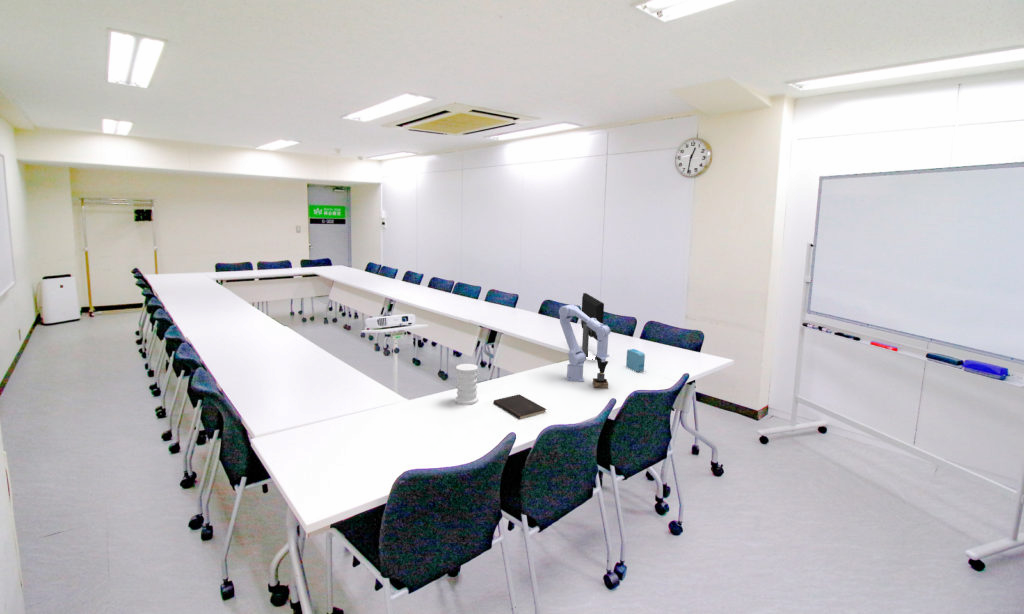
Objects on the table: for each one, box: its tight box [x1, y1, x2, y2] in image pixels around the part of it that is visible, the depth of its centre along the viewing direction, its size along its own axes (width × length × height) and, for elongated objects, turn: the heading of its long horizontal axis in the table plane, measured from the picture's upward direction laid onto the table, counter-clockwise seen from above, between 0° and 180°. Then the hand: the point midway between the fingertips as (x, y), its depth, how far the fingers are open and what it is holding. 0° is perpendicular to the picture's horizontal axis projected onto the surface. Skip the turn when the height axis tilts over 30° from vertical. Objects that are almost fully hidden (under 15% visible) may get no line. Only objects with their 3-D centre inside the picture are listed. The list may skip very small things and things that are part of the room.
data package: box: [625, 348, 646, 373], centre depth 305 cm, size 12×4×12 cm, turn 24°
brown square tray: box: [592, 377, 609, 389], centre depth 276 cm, size 8×8×3 cm
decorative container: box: [455, 363, 479, 406], centre depth 249 cm, size 12×12×18 cm
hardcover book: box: [492, 394, 547, 420], centre depth 243 cm, size 16×23×2 cm
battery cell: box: [596, 372, 605, 383], centre depth 275 cm, size 4×4×7 cm
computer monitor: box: [580, 292, 605, 360], centre depth 331 cm, size 41×8×40 cm, turn 8°
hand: (601, 370), depth 274 cm, fingers open, 7 cm apart
